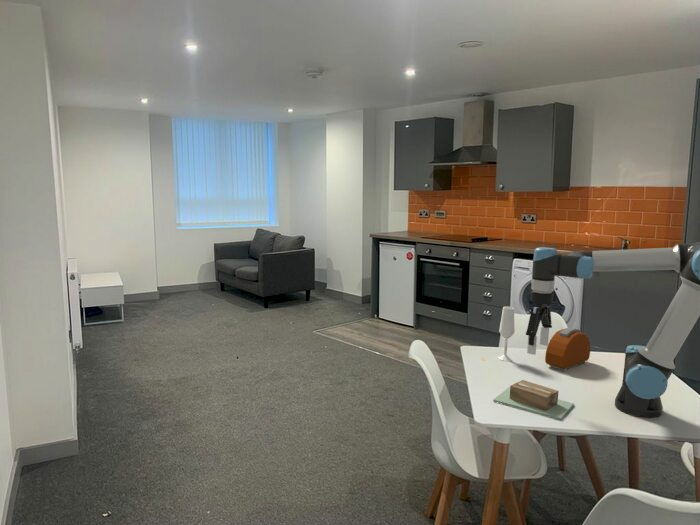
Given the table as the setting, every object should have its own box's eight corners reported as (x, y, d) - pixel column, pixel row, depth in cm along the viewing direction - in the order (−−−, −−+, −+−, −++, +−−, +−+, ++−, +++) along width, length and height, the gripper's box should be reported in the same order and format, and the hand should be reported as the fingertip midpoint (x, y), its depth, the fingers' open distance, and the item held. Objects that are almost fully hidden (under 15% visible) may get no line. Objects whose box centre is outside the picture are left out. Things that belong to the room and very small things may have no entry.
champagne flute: (510, 362, 238) (514, 310, 235) (495, 359, 242) (499, 308, 238) (514, 358, 244) (517, 307, 241) (499, 355, 247) (502, 305, 244)
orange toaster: (571, 357, 248) (574, 322, 245) (590, 362, 241) (593, 326, 238) (543, 367, 233) (546, 330, 231) (562, 373, 226) (566, 335, 224)
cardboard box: (521, 392, 202) (522, 379, 201) (557, 404, 192) (558, 390, 191) (509, 398, 196) (510, 385, 195) (545, 410, 186) (546, 397, 185)
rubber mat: (573, 405, 193) (573, 403, 193) (560, 420, 180) (560, 418, 180) (509, 388, 207) (509, 386, 207) (493, 401, 195) (493, 399, 194)
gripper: (542, 284, 200) (538, 339, 203) (519, 295, 180) (514, 355, 183) (563, 287, 195) (558, 343, 198) (541, 298, 175) (536, 360, 179)
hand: (537, 349), depth 191 cm, fingers open, 13 cm apart
